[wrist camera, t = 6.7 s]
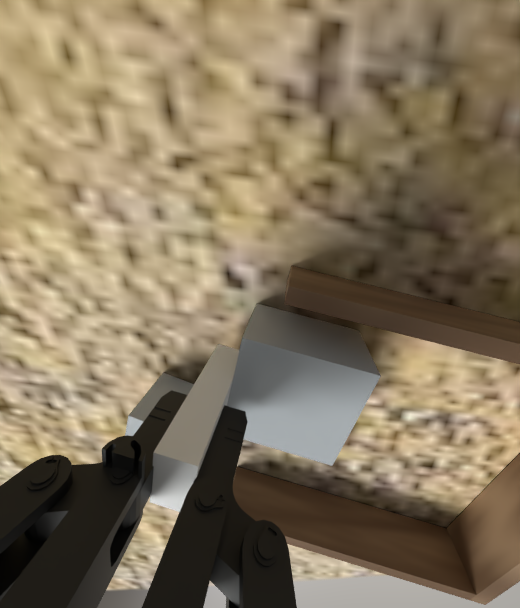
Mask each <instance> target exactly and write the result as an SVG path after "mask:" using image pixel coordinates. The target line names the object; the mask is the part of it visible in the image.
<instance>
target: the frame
mask: <svg viewBox="0 0 520 608" xmlns="http://www.w3.org/2000/svg"><path fill="white" fill-rule="evenodd" d="M284 304H286V305H290V306H294V307H297V308H301V309H305V310H309V311H313V312H317V313H321V314H325V315H329V316H333V317H337V318H341V319H344V320H348V321H352V322H356V323H360V324H364V325H368V326H372V327H376V328H380V329H384V330H388V331H391V332H395V333H399V334H403V335H407V336H411V337H415V338H419V339H423V340H427V341H431V342H435V343H438V344H442V345H446V346H450V347H454V348H458V349H462V350H466V351H470V352H474V353H478V354H482V355H485V356H489V357H493V358H497V359H501V360H505V361H509V362H513V363H517V364H520V322H518V321H514V320H510V319H506V318H501V317H497V316H493V315H489V314H485V313H481V312H477V311H473V310H469V309H465V308H461V307H457V306H453V305H449V304H445V303H441V302H437V301H432V300H428V299H424V298H420V297H416V296H412V295H408V294H404V293H400V292H396V291H392V290H388V289H384V288H380V287H376V286H372V285H368V284H363V283H359V282H355V281H351V280H347V279H343V278H339V277H335V276H331V275H327V274H323V273H319V272H315V271H311V270H307V269H303V268H298V267H294V266H291V269H290V273H289V277H288V281H287V287H286V294H285V301H284ZM233 494H234V497H235V500H236V502H237V503H238V505H239V507H240V508H241V509H242V510H243V511H244V512H245V513H247V514H248V515H249V516H250V517H252V518H253V519H254V520H255V521H259V520H267V521H271V522H273V523H274V524H275V525H277V526H278V527H279V528H280V530H281V531H282V533H283V534H284V536H285V538H286V542H287V544H290V545H293V546H297V547H300V548H303V549H306V550H309V551H313V552H316V553H319V554H322V555H326V556H329V557H332V558H335V559H339V560H342V561H345V562H348V563H351V564H355V565H358V566H361V567H364V568H368V569H371V570H374V571H377V572H381V573H384V574H387V575H390V576H393V577H397V578H400V579H403V580H406V581H410V582H413V583H416V584H419V585H423V586H426V587H429V588H432V589H436V590H439V591H442V592H445V593H448V594H452V595H455V596H458V597H461V598H465V599H468V600H471V601H474V602H478V603H481V604H484V605H486V604H487V603H489V602H490V601H492V600H493V599H495V598H496V597H497V596H499V595H500V594H502V593H503V592H505V591H506V590H508V589H509V588H510V587H512V586H513V585H515V584H516V583H518V582H519V581H520V454H519V455H518V456H517V457H516V458H515V459H514V460H513V461H512V462H511V463H510V464H509V465H508V466H507V467H506V468H505V469H504V470H503V471H502V472H501V473H500V474H499V475H498V476H497V477H496V478H495V479H494V480H493V481H492V482H491V483H490V484H489V485H488V486H487V487H486V488H485V489H484V490H483V491H482V492H481V493H480V494H479V496H478V497H477V498H476V499H475V500H474V501H473V502H472V503H471V504H470V505H469V506H468V507H467V508H466V509H465V510H464V511H463V512H462V513H461V514H460V515H459V516H458V517H457V518H456V519H455V520H454V521H453V522H452V523H451V524H450V525H449V526H448V527H447V528H443V527H440V526H437V525H433V524H430V523H427V522H423V521H420V520H416V519H413V518H410V517H406V516H403V515H399V514H396V513H393V512H389V511H386V510H383V509H379V508H376V507H372V506H369V505H366V504H362V503H359V502H355V501H352V500H349V499H345V498H342V497H338V496H335V495H332V494H328V493H325V492H322V491H318V490H315V489H311V488H308V487H305V486H301V485H298V484H294V483H291V482H288V481H284V480H281V479H278V478H274V477H271V476H267V475H264V474H261V473H257V472H254V471H250V470H247V469H244V468H240V467H237V469H236V472H235V476H234V481H233Z"/></svg>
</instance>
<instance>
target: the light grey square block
mask: <svg viewBox="0 0 520 608" xmlns="http://www.w3.org/2000/svg"><path fill="white" fill-rule="evenodd" d="M380 376H381V375H380V373H379V371H378V369H377V367H376V365H375V363H374V361H373V359H372V357H371V354H370V352H369V350H368V348H367V346H366V344H365V342H364V340H363V338H362V336H361V334H360V331H358V330H355V329H351V328H347V327H343V326H340V325H336V324H332V323H329V322H325V321H321V320H317V319H314V318H310V317H306V316H302V315H299V314H295V313H291V312H287V311H284V310H280V309H276V308H273V307H269V306H265V305H261V304H258V303H257V304H256V307H255V309H254V311H253V314H252V316H251V318H250V321H249V323H248V325H247V328H246V330H245V332H244V335H243V337H242V341H241V345H240V350H239V354H238V359H237V363H236V368H235V372H234V376H233V381H232V385H231V390H230V394H229V399H228V403H227V406H229V407H232V408H236V409H239V410H242V411H245V412H246V417H247V426H246V431H245V435H244V440H247V441H250V442H254V443H257V444H260V445H264V446H267V447H271V448H274V449H277V450H281V451H284V452H287V453H291V454H294V455H298V456H301V457H304V458H308V459H311V460H314V461H318V462H321V463H325V464H328V465H331V466H332V465H333V463H334V462H335V460H336V458H337V456H338V454H339V452H340V450H341V449H342V447H343V445H344V443H345V441H346V439H347V437H348V436H349V434H350V432H351V430H352V428H353V426H354V424H355V423H356V421H357V419H358V417H359V415H360V413H361V411H362V410H363V408H364V406H365V404H366V402H367V400H368V398H369V397H370V395H371V393H372V391H373V389H374V387H375V385H376V384H377V382H378V380H379V378H380Z"/></svg>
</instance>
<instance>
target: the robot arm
mask: <svg viewBox="0 0 520 608" xmlns="http://www.w3.org/2000/svg"><path fill="white" fill-rule="evenodd" d="M238 354H239V350H238V349H235V348H231V347H227V346H224V345H220V344H218V345H217V347H216V348H215V350H214V352H213V353H212V355H211V357H210V358H209V360H208V362H207V363H206V365H205V367H204V368H203V370H202V372H201V374H200V375H199V377H198V379H197V380H196V382H195V384H194V385H193V387H192V389H191V390H190V392H189V394H188V395H186V394H183V393H179V392H176V391H172V390H171V391H170V392H168V393H167V394H165V395H164V396H162V397H161V398H160V400H159V401H158V402H157V404H156V405H155V407H154V409H152V411H151V412H150V413H149V415H148V417H147V418H146V419H145V420H144V422H143V423H142V424H141V426H140V427H139V429H138V430H137V431H136V433H135V434H134V435H133V436H128V435H127V436H122V437H118V438H116V439H114V440H112V441H110V442H109V443H108V444H107V445H105V446H104V447H103V448H102V461H103V462H102V463H97V464H83V465H71V462H70V461H69V459H68V458H67V457H64V456H62V455H51V456H47V457H44V458H41V459H39V460H37V461H35V462H34V463H32V464H30V465H29V466H27V467H26V468H25V469H23V470H22V471H20V472H19V473H18V474H16V475H15V476H14V477H12V478H11V479H9V480H8V481H7V482H5V483H4V484H3V485H1V486H0V608H97V607H98V604H99V603H100V601H101V599H102V597H103V595H104V593H105V591H106V589H107V587H108V585H109V583H110V581H111V579H112V577H113V575H114V573H115V571H116V569H117V567H118V565H119V563H120V561H121V559H122V557H123V555H124V553H125V551H126V549H127V547H128V545H129V543H130V541H131V539H132V537H133V535H134V533H135V531H136V529H137V527H138V525H139V523H140V521H141V518H142V515H143V508H144V506H145V504H146V502H147V501H148V499H149V497H150V502H151V503H154V504H157V505H160V506H163V507H166V508H169V509H172V510H175V511H178V512H180V513H179V515H178V518H177V520H176V523H175V525H174V528H173V530H172V533H171V535H170V538H169V540H168V543H167V545H166V548H165V551H164V553H163V556H162V558H161V561H160V563H159V566H158V568H157V571H156V573H155V576H154V578H153V581H152V583H151V586H150V588H149V591H148V593H147V596H146V599H145V601H144V604H143V606H142V608H203V606H204V602H205V597H206V593H207V589H208V585H209V581H211V582H212V583H213V584H214V585H215V586H216V587H217V588H218V589H219V590H220V591H221V592H223V594H224V595H225V596H226V608H297V607H296V599H295V592H294V585H293V578H292V571H291V564H290V557H289V549H288V545H287V542H286V538H285V536H284V534H283V533H282V531H281V530H280V528H279V527H278V526H277V525H275V524H274V523H273V522H271V521H267V520H259V521H255V520H254V519H253V518H252V517H250V516H249V515H248V514H247V513H245V512H244V511H243V510H242V509H241V508H240V507H239V505H238V503H237V502H236V500H235V497H234V494H233V480H234V476H235V472H236V468H237V464H238V459H239V455H240V451H241V447H242V443H243V439H244V435H245V431H246V426H247V417H246V412H245V411H242V410H239V409H236V408H232V407H229V406H227V403H228V399H229V394H230V390H231V385H232V381H233V376H234V372H235V368H236V363H237V359H238Z"/></svg>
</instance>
